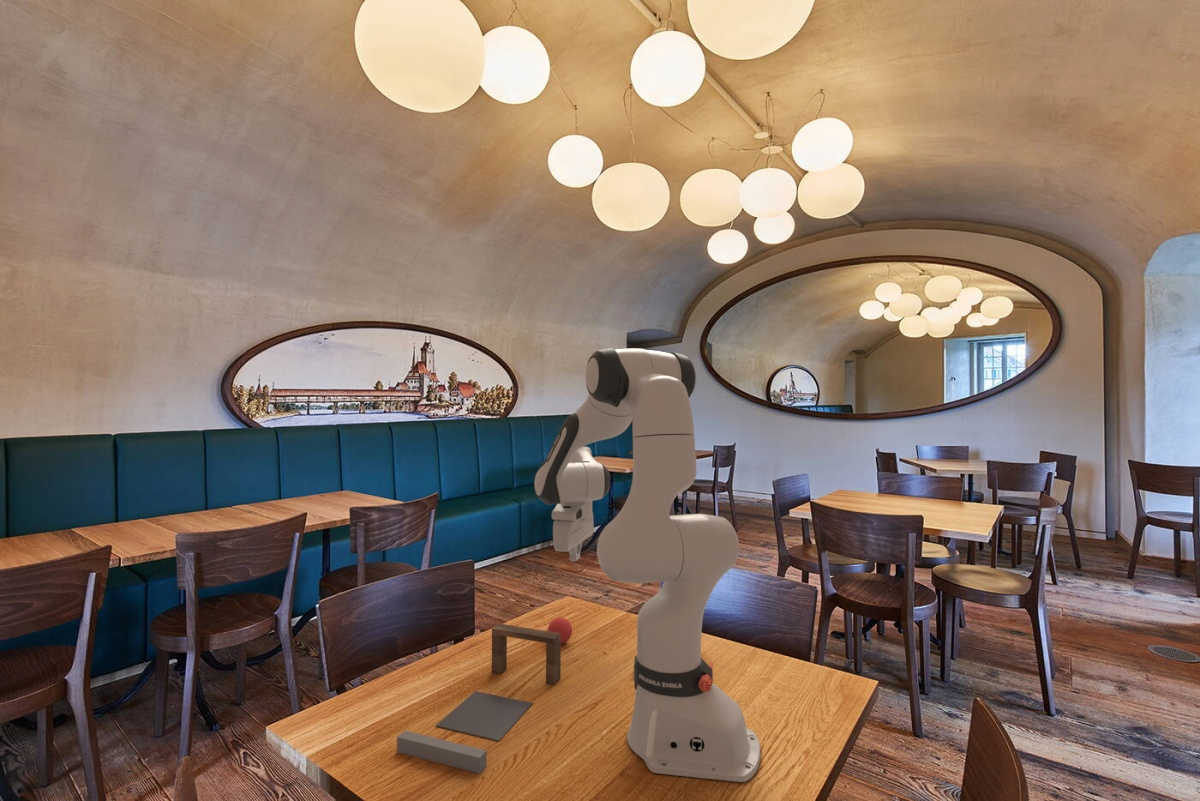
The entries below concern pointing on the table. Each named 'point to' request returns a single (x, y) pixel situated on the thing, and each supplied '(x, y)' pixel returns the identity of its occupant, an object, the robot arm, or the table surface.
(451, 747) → the wall
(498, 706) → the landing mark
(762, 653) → the table surface
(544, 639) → the bridge
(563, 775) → the table surface
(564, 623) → the ball
